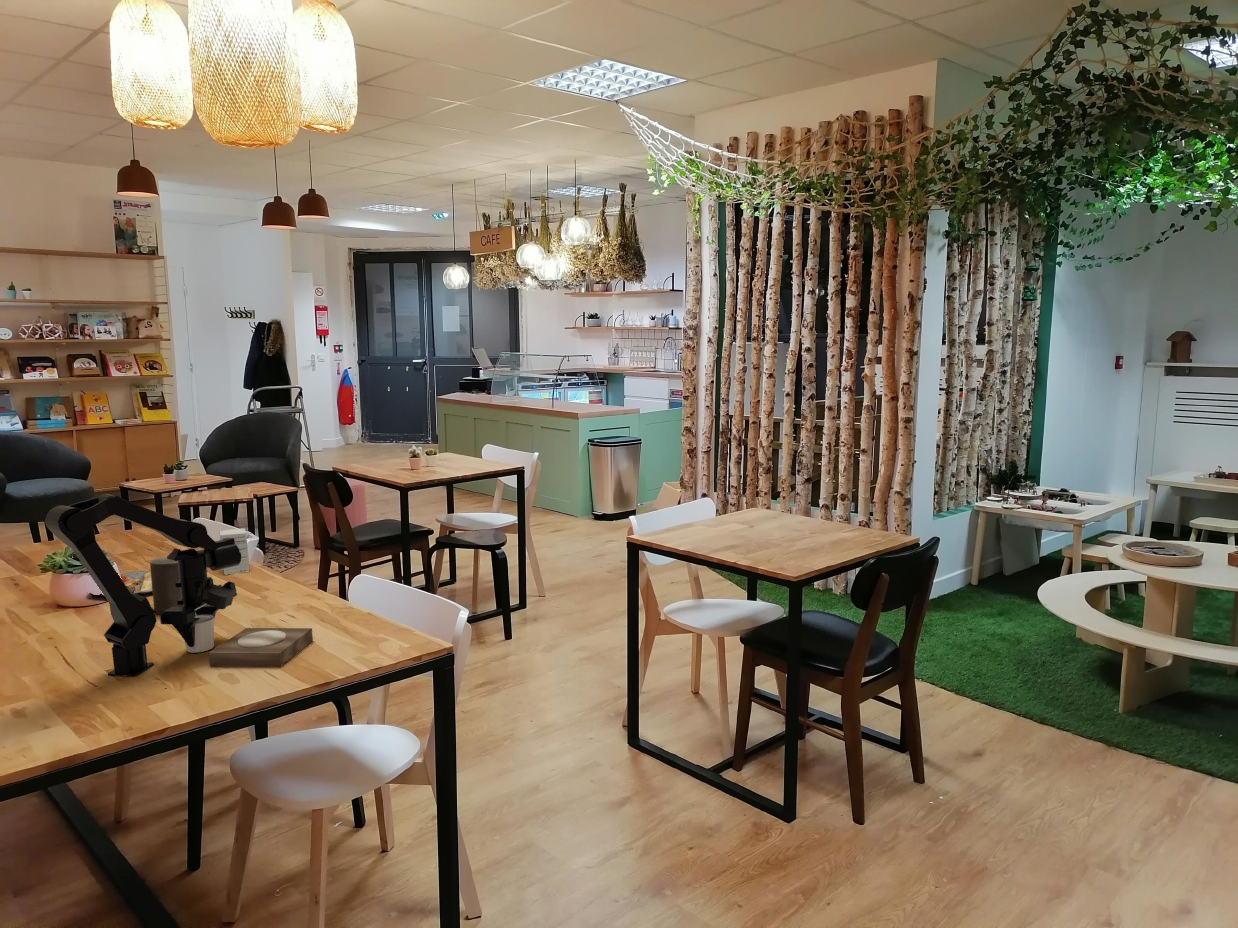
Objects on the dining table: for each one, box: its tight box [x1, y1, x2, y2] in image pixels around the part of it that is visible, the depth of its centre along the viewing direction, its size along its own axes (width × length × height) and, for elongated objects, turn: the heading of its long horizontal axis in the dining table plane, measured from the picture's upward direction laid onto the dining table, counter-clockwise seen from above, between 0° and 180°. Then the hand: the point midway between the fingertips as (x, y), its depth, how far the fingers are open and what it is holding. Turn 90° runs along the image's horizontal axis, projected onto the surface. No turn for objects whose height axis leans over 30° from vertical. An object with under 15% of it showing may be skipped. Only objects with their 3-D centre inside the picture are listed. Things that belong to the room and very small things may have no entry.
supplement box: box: [219, 527, 250, 576], centre depth 264 cm, size 7×7×13 cm
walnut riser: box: [208, 627, 314, 667], centre depth 194 cm, size 16×16×4 cm
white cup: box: [184, 615, 215, 654], centre depth 197 cm, size 7×7×7 cm
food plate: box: [121, 569, 152, 596], centre depth 249 cm, size 25×23×4 cm
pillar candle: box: [149, 555, 184, 615], centre depth 227 cm, size 10×10×15 cm
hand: (199, 641), depth 197 cm, fingers closed on white cup, 6 cm apart
